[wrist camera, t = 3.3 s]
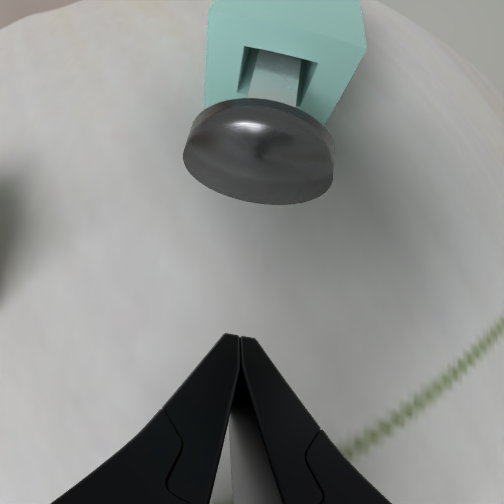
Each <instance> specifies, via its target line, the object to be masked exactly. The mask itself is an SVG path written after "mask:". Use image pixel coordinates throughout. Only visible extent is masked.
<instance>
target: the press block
mask: <svg viewBox="0 0 504 504" xmlns="http://www.w3.org/2000/svg"><path fill="white" fill-rule="evenodd" d="M260 49H262V50H267V51H272V52H276V53H281V54H285V55H289V56H293V57H297V58H301V67H300V75H299V83H298V92H297V100H296V108H298V109H300V110H302V111H304V112H306V113H307V114H309V115H310V116H312V117H313V118H315V119H316V120H317V121H318V122H320V123H321V124H322V125H323V126H325V124H326V122H327V120H328V119H329V117H330V115H331V113H332V111H333V110H334V108H335V106H336V104H337V103H338V101H339V99H340V97H341V95H342V94H343V92H344V90H345V88H346V86H347V85H348V83H349V81H350V79H351V78H352V76H353V74H354V72H355V70H356V69H357V67H358V65H359V63H360V61H361V60H362V58H363V56H364V54H365V53H366V51H367V44H366V36H365V29H364V22H363V16H362V10H361V4H360V0H215V1H214V3H213V5H212V7H211V8H210V10H209V13H208V30H207V50H206V74H205V106H204V110H205V109H206V108H208V107H210V106H212V105H214V104H217V103H219V102H222V101H227V100H231V99H239V98H247V96H248V92H249V88H250V84H251V80H252V76H253V72H254V69H255V65H256V61H257V57H258V53H259V50H260Z"/></svg>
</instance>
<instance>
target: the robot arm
mask: <svg viewBox="0 0 504 504" xmlns="http://www.w3.org/2000/svg"><path fill="white" fill-rule="evenodd" d="M228 421H229V435H230V454H231V472H232V489H233V504H392V503H391V502H389V501H388V500H387V499H386V498H385V497H384V496H383V495H382V494H381V493H380V492H379V491H378V490H377V489H376V488H375V487H374V486H373V485H372V484H370V483H369V482H368V481H367V480H366V479H365V478H364V477H363V476H362V475H361V474H360V473H359V472H358V471H357V470H356V469H355V468H354V466H353V465H352V464H351V463H350V462H349V461H348V460H347V459H346V458H345V457H344V456H343V455H342V453H341V452H340V451H339V450H338V449H337V447H336V446H335V445H334V444H333V443H332V441H331V440H330V439H329V437H328V436H327V435H326V434H325V432H324V431H323V430H320V426H319V425H318V424H317V422H316V421H315V420H314V418H313V417H312V416H311V414H310V413H309V412H308V410H307V409H306V408H305V406H304V405H303V404H302V402H301V401H300V400H299V398H298V397H297V396H296V394H295V393H294V392H293V390H292V389H291V387H290V386H289V385H288V383H287V382H286V381H285V379H284V378H283V376H282V375H281V374H280V372H279V371H278V369H277V368H276V367H275V365H274V364H273V362H272V361H271V360H270V358H269V357H268V355H267V354H266V353H265V351H264V350H263V348H262V347H261V346H260V344H259V343H258V341H257V340H256V339H255V338H251V337H245V336H241V337H240V338H239V336H238V335H233V334H228V333H225V334H223V335H222V337H221V338H220V339H219V340H218V342H217V343H216V344H215V345H214V346H213V348H212V349H211V350H210V351H209V352H208V354H207V355H206V356H205V357H204V358H203V360H202V361H201V362H200V363H199V364H198V366H197V367H196V368H195V369H194V370H193V372H192V373H191V374H190V375H189V376H188V378H187V379H186V380H185V381H184V382H183V384H182V385H181V386H180V387H179V388H178V389H177V391H176V392H175V393H174V394H173V395H172V397H171V398H170V399H169V400H168V401H167V402H166V404H165V405H164V406H163V407H162V409H160V410H159V411H158V412H157V414H156V415H155V416H154V417H153V418H152V419H151V420H150V421H149V423H148V424H147V425H146V426H145V427H144V428H143V429H142V430H141V431H140V432H139V433H138V434H137V435H136V436H135V437H134V438H133V439H131V440H130V441H129V442H128V443H127V444H126V445H125V446H124V447H123V448H121V449H120V450H119V451H118V452H116V453H115V454H114V455H113V456H112V457H110V458H109V459H108V460H107V461H105V462H104V463H103V464H102V465H100V466H99V467H98V468H97V469H95V470H94V471H93V472H91V473H90V474H89V475H88V476H86V477H85V478H84V479H83V480H81V481H80V482H79V483H77V484H76V485H75V486H73V487H72V488H71V489H69V490H68V491H67V492H65V493H64V494H63V495H61V496H60V497H59V498H57V499H56V500H55V501H53V502H52V503H51V504H209V502H210V498H211V494H212V490H213V486H214V481H215V477H216V473H217V469H218V464H219V460H220V456H221V452H222V447H223V443H224V439H225V434H226V430H227V426H228Z"/></svg>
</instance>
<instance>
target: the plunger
mask: <svg viewBox="0 0 504 504" xmlns="http://www.w3.org/2000/svg"><path fill="white" fill-rule="evenodd" d="M300 67H301V58H297V57H293V56H289V55H285V54H281V53H276V52H272V51H267V50H262V49H260V50H259V53H258V57H257V61H256V65H255V69H254V72H253V76H252V80H251V84H250V88H249V92H248V96H247V98H239V99H231V100H227V101H222V102H219V103H217V104H214V105H212V106H210V107H208V108H206V109H205V110H204V111H202V112H201V113H200V114H199V115H198V116H197V117H196V119H195V120H194V122H193V124H192V127H191V131H190V134H189V137H188V140H187V143H186V146H185V149H184V153H183V160H184V164H185V166H186V168H187V170H188V171H189V172H190V174H191V175H192V176H193V177H194V178H195V179H197V180H198V181H199V182H200V183H202V184H203V185H205V186H207V187H208V188H210V189H212V190H214V191H216V192H218V193H221V194H223V195H226V196H229V197H232V198H235V199H239V200H243V201H247V202H253V203H259V204H270V205H288V204H297V203H302V202H306V201H310V200H312V199H315V198H317V197H319V196H321V195H322V194H324V193H325V192H326V191H327V190H328V189H329V187H330V186H331V183H332V180H333V165H334V143H333V140H332V138H331V136H330V134H329V133H328V131H327V130H326V129H325V127H324V126H323V125H322V124H321V123H320V122H318V121H317V120H316V119H315V118H313V117H312V116H310V115H309V114H307V113H306V112H304V111H302V110H300V109H298V108H296V100H297V92H298V83H299V75H300Z"/></svg>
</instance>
